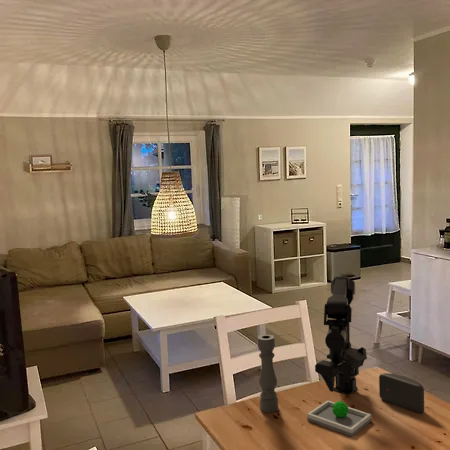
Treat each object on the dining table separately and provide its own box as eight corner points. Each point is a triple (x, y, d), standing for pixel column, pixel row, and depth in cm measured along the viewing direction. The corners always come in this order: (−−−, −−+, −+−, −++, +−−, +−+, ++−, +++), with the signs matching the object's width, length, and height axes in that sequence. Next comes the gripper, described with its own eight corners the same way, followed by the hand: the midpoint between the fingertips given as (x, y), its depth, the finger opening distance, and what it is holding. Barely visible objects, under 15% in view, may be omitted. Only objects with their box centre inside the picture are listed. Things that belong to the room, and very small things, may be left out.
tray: (307, 420, 161) (307, 413, 160) (327, 406, 169) (327, 400, 169) (352, 436, 149) (351, 429, 149) (371, 420, 158) (371, 414, 158)
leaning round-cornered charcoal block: (429, 410, 163) (429, 383, 162) (422, 415, 160) (422, 387, 159) (385, 395, 175) (385, 369, 174) (378, 399, 172) (377, 373, 171)
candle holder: (257, 411, 169) (254, 339, 166) (263, 402, 174) (260, 333, 172) (275, 413, 166) (272, 340, 164) (280, 405, 172) (277, 334, 169)
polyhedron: (351, 415, 160) (350, 401, 160) (345, 421, 156) (344, 407, 156) (336, 411, 163) (335, 397, 163) (330, 418, 159) (329, 403, 159)
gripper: (345, 353, 145) (346, 404, 147) (375, 336, 159) (376, 383, 160) (313, 345, 153) (314, 394, 155) (344, 329, 166) (346, 374, 168)
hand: (339, 386), depth 159 cm, fingers open, 9 cm apart
